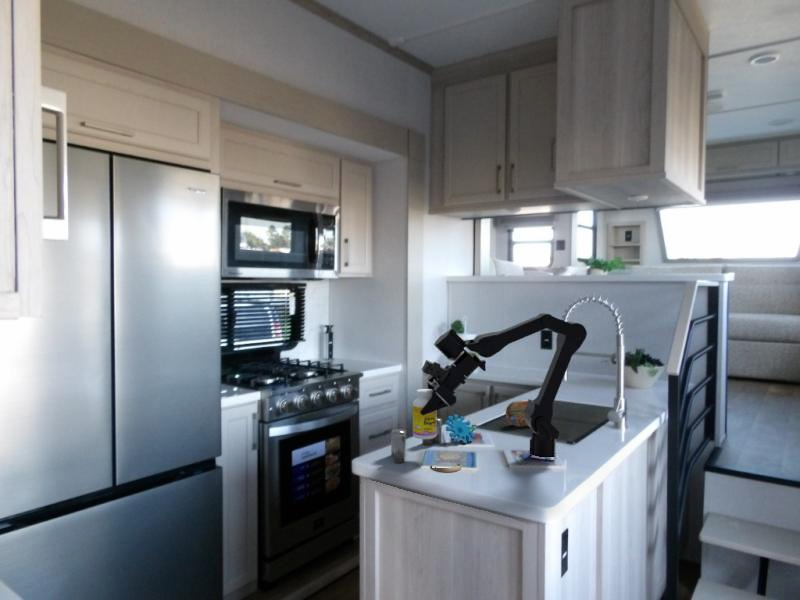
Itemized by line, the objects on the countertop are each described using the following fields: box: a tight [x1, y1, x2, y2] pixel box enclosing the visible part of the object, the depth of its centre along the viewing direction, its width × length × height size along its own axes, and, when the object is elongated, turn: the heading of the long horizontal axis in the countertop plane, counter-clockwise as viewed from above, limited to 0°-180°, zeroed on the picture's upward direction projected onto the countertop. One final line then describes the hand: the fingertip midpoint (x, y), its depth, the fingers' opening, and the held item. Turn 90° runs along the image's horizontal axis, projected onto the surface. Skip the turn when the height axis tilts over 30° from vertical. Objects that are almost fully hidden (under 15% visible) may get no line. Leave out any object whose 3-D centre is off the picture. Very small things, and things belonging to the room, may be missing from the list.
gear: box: [444, 413, 477, 444], centre depth 177 cm, size 11×6×10 cm
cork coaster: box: [431, 464, 462, 473], centre depth 151 cm, size 8×8×1 cm
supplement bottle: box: [412, 388, 438, 440], centre depth 158 cm, size 7×7×13 cm
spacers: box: [390, 417, 443, 464], centre depth 165 cm, size 10×24×7 cm, turn 159°
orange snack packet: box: [505, 399, 534, 428], centre depth 196 cm, size 15×3×8 cm, turn 114°
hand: (419, 411), depth 158 cm, fingers closed on supplement bottle, 7 cm apart
